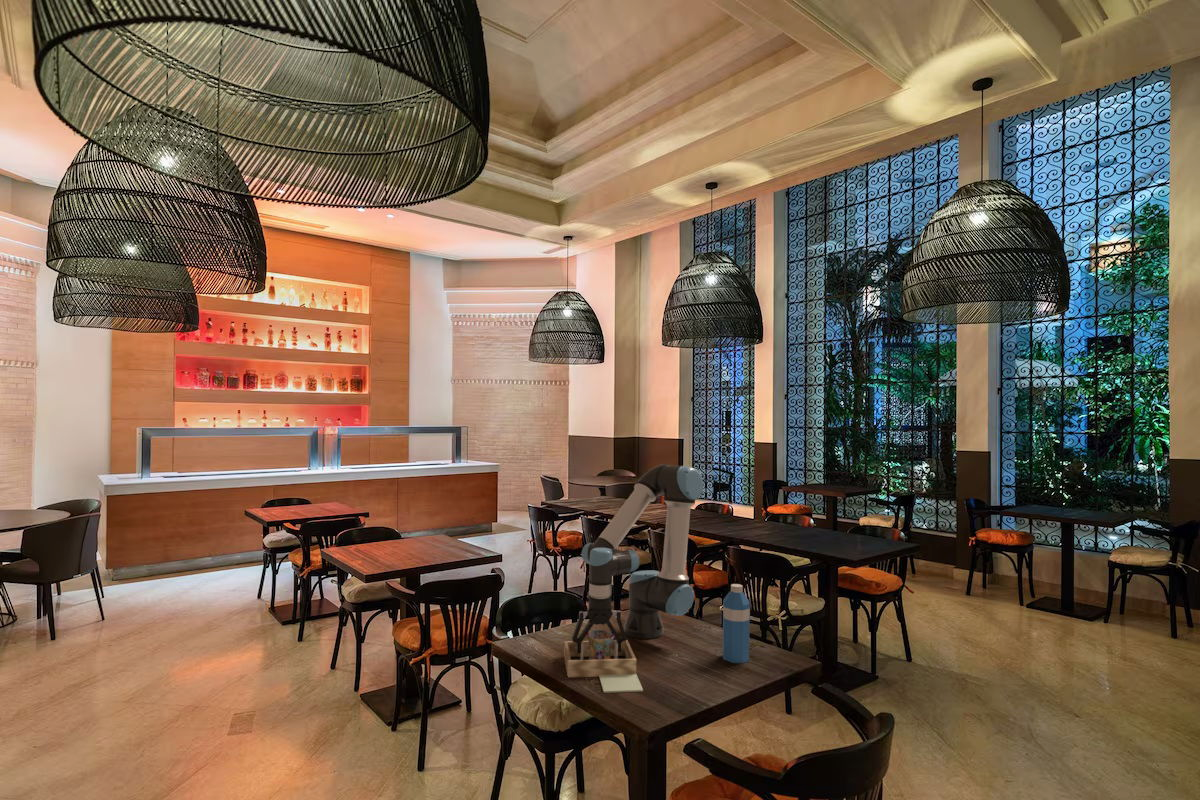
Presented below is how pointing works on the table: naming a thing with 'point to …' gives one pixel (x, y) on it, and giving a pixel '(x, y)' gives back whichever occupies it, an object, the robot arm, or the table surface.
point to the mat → (620, 683)
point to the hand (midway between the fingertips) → (598, 662)
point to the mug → (600, 644)
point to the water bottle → (736, 625)
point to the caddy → (598, 661)
